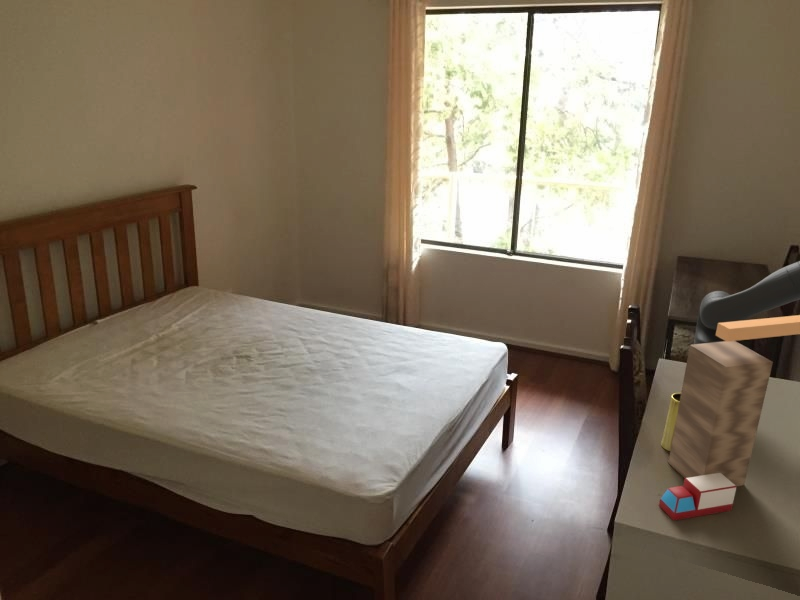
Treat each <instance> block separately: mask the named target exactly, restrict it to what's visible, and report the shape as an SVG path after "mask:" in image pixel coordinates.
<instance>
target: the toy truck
mask: <svg viewBox="0 0 800 600" xmlns="http://www.w3.org/2000/svg"><path fill="white" fill-rule="evenodd" d="M737 487H738V486H736V485H734V484H733V483H732V482H731V481H730V480H728V479H727V478H726V477H725V476H724V475H722V474H721V473H715V474H708V475H702V476H696V477H689V478H684V481H683V485H679V486H673V487H667V489H666V490H665V492H664V493H663V495H662V496H661V497H660V498H659V499H660V500H659V502H658V507H659V508H661V509H662V510H663V512H665V513H666V515H668V516H669V518H671V520H672V521H677V520H684V519H690V518H696V517H702V516H708V515H713V514H719V512H720V513H724V512H730V511H732V509H733V506H734V500H735V496H736V492H737Z"/></svg>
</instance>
